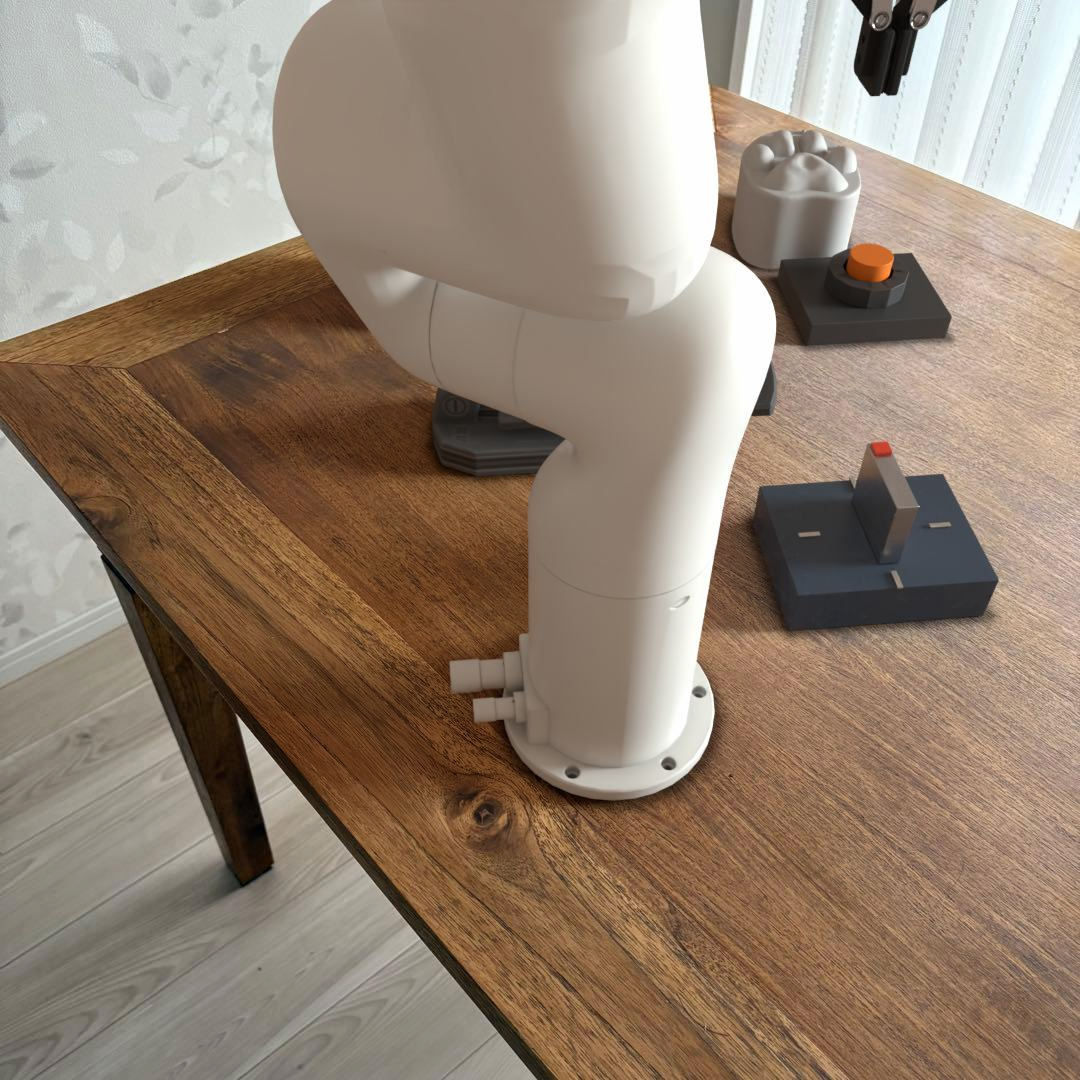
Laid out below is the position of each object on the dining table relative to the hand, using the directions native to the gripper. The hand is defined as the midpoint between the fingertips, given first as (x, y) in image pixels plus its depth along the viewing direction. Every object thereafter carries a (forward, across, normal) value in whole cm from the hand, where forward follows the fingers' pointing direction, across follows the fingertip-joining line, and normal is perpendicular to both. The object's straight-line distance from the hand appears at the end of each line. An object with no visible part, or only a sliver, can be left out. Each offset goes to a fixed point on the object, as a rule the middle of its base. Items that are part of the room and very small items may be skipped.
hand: (876, 86), depth 70 cm
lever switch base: (+25, -1, -18) cm, 31 cm away
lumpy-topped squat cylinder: (+25, +5, +25) cm, 36 cm away
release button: (+22, +8, +12) cm, 26 cm away
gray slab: (+22, -1, -18) cm, 28 cm away
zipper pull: (+25, -17, -3) cm, 31 cm away
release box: (+25, +8, +12) cm, 29 cm away
